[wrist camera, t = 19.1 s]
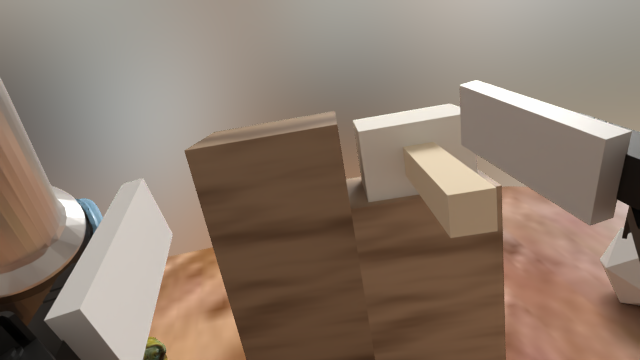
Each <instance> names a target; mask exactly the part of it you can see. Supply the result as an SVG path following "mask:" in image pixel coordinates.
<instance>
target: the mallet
mask: <svg viewBox="0 0 640 360" xmlns="http://www.w3.org/2000/svg"><path fill="white" fill-rule="evenodd" d="M353 125H354V132H355V139H356V146H357V152H358V159H359V166H360V173H361V179H362V183H363V186H364V190H365V193H366V196H367V199H368V202H374V201H380V200H387V199H393V198H399V197H406V196H412V195H420V196H421V197H422V199H423V200H424V202H425V203H426V204H427V206H428V207H429V208H430V210H431V211H432V213H433V214H434V215H435V217H436V218H437V220H438V221H439V222H440V224H441V225H442V227H443V228H444V229H445V231H446V232H447V234H448V235H449V236H450V238H454V237H461V236H468V235H475V234H481V233H488V232H495V231H498V225H497V190H496V187H495V186H493V185H492V184H491V183H489V182H488V181H487V180H485V179H484V178H482V177H481V176H480V175H478V168H477V154H475V153H473V152H472V151H470V150H469V149H467V148H465V147H464V146H462V145H461V118H460V107H458V106H455V105H452V104H444V105H438V106H433V107H427V108H421V109H415V110H409V111H404V112H398V113H392V114H387V115H381V116H375V117H369V118H363V119H357V120H353Z"/></svg>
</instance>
